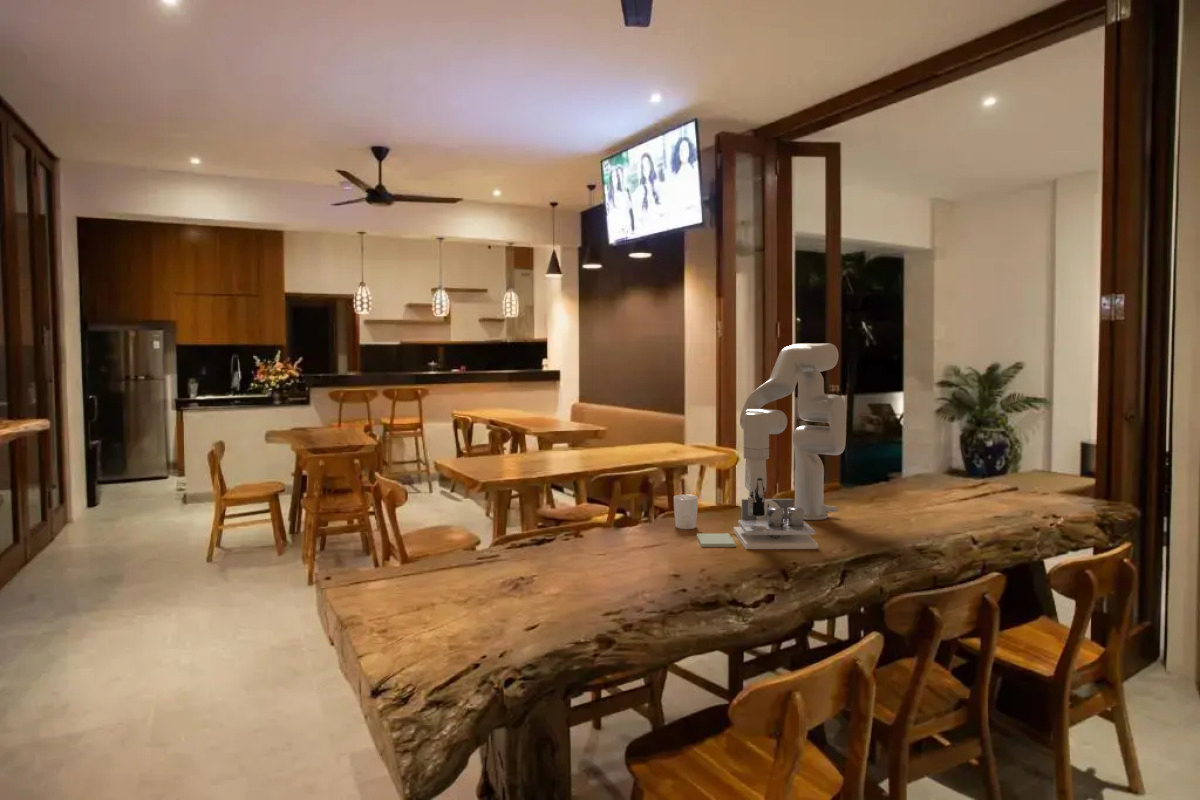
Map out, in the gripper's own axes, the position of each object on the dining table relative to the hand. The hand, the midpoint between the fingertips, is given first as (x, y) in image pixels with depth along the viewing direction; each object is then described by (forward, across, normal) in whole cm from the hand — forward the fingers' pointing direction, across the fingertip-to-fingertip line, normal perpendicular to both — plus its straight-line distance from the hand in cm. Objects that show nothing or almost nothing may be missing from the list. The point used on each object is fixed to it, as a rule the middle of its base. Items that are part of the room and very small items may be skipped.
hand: (756, 512), depth 227 cm
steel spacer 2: (+4, +1, +12) cm, 12 cm away
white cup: (+9, -18, -20) cm, 28 cm away
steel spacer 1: (+4, +1, +6) cm, 7 cm away
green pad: (+9, +1, -12) cm, 15 cm away
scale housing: (+9, -1, +5) cm, 11 cm away
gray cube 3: (+1, 0, 0) cm, 1 cm away
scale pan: (+5, +1, +6) cm, 8 cm away
